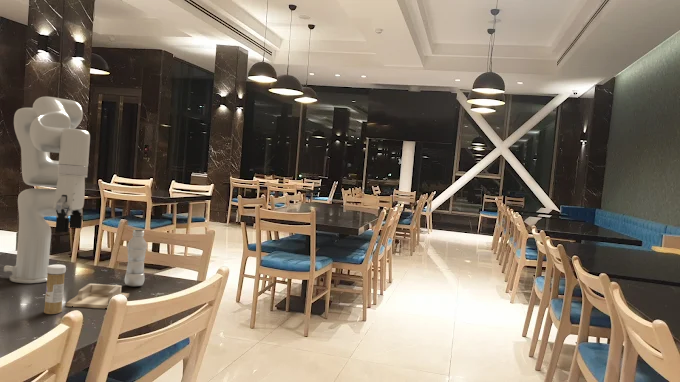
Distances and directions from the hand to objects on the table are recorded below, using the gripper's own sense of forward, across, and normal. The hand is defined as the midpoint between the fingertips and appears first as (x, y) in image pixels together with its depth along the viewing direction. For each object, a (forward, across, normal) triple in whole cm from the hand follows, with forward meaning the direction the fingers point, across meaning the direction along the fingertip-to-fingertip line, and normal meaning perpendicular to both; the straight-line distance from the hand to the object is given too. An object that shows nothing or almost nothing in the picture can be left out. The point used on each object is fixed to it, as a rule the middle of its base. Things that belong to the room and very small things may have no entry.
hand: (68, 229), depth 139 cm
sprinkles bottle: (+24, +3, -1) cm, 24 cm away
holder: (+23, -9, +7) cm, 26 cm away
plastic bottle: (+23, -29, +12) cm, 39 cm away
